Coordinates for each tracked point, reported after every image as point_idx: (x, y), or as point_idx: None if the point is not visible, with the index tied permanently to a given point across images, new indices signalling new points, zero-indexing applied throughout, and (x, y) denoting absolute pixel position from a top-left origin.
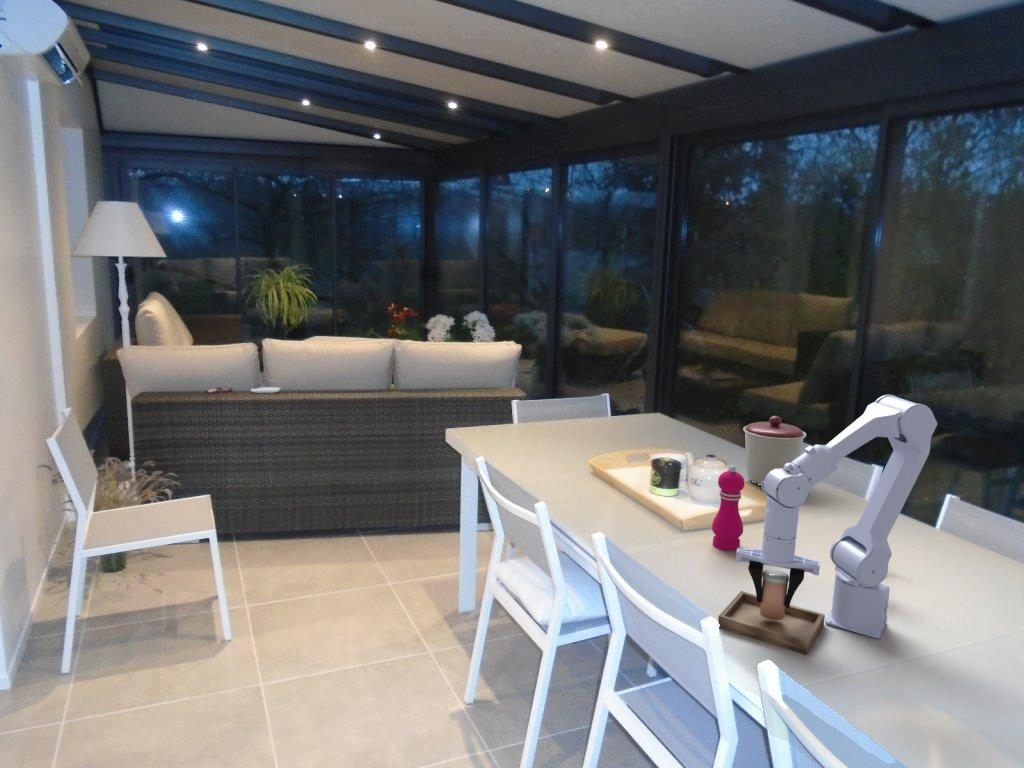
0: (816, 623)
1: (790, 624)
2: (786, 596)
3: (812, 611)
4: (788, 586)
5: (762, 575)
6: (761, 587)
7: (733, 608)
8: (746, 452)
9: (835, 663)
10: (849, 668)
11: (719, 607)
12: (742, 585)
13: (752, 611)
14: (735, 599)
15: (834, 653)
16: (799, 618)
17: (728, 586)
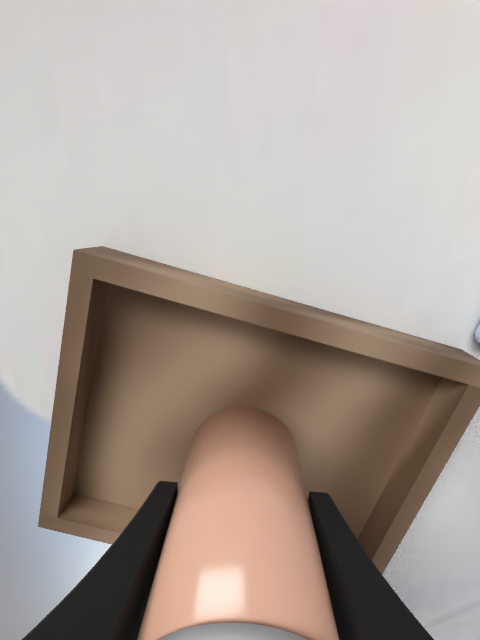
0: (432, 466)
1: (319, 430)
2: (318, 529)
3: (441, 361)
4: (344, 633)
5: (119, 620)
6: (152, 575)
7: (81, 408)
8: None
9: (431, 574)
10: (466, 586)
11: (33, 342)
12: (81, 16)
13: (164, 373)
14: (68, 363)
15: (444, 526)
16: (364, 367)
17: (12, 72)
